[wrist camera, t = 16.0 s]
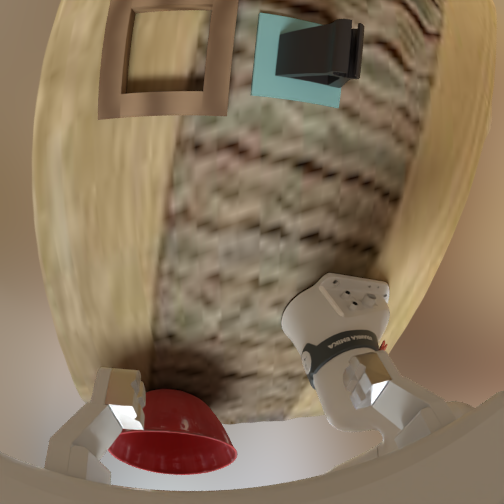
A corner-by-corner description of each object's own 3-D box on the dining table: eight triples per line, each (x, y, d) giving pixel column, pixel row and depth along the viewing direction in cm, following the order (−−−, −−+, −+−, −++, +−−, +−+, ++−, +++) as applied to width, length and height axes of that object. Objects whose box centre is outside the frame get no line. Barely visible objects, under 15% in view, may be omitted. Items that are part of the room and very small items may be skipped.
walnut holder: (237, -6, 25) (240, -13, 23) (225, 115, 33) (226, 116, 31) (117, -2, 22) (112, -8, 20) (104, 118, 30) (97, 119, 28)
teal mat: (343, 32, 29) (345, 31, 28) (336, 107, 34) (338, 108, 34) (258, 14, 27) (259, 12, 26) (250, 95, 32) (251, 95, 32)
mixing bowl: (106, 359, 50) (93, 422, 37) (240, 373, 57) (251, 435, 44) (120, 420, 62) (116, 467, 49) (219, 429, 70) (225, 475, 56)
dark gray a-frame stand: (274, 75, 31) (306, 62, 20) (279, 34, 28) (312, 7, 18) (338, 88, 32) (389, 87, 22) (342, 50, 30) (394, 36, 19)
